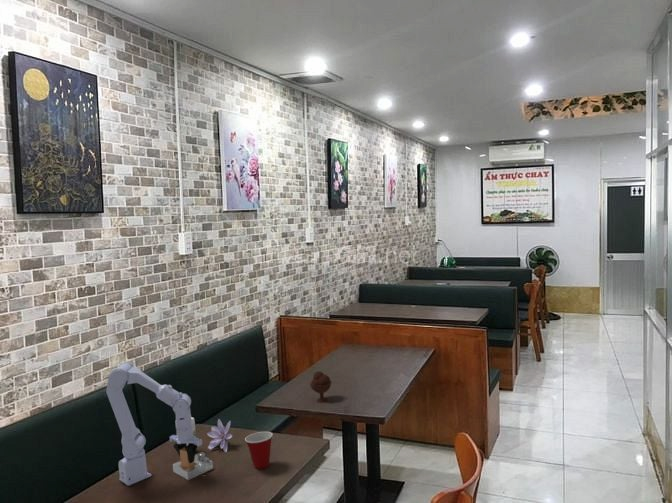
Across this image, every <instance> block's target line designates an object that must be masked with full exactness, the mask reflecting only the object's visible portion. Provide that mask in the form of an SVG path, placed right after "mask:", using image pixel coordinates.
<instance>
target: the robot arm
mask: <svg viewBox="0 0 672 503" xmlns="http://www.w3.org/2000/svg"><path fill="white" fill-rule="evenodd" d="M126 383H127V385H130V384H131V385H132V384H139V385H140V386H142V387H144V388H146V389H148V390H150V391H151V392H153V393H154V394H155V396H156V398H157V399H158V400H160V401H162V402H163V403H165V404H166V405H167V406H170V407H171V408H172V410H173V412H174V414H175V420H176V423H175V427H176V426H177V435H176V434H172V435H170V436H169V442H170V443H171V442H172V443H173V442H175V443H174V444H173V448H174V449H175V450H176V452H177V454H178V456H179V458H180V449H182V448H184V447H185V449H186V451H187V454H188V460H189V463H192V462H193V461H194V458H195V455H196V454H197V453H196V452H197V451H196V449H197V450H198V447H200V446H202V445H203V439H201V438H198V437H197V436H196V437H194V436H193V431H192V420H191V417H192V414H191V404H192V399H191V396H189V395H188V394H187V393H183V392H179V391H177V390H176V389H174V388H173V386H172V385H171V384H160V383H159V382H157V381H156V380H154V379H153V378H152V377H150V376H149V375H147V374H146V373H144V372H143V371H142V370H140V368H139V367H138V366H135V365H133V363H131V362H127V361H125V362H122V363H120V364H119V365H118V366H117V367H115V369H113V370H112V371H111V372H110V374H109V375H108V376H107V385H106V391H105V392H106V395H107V398H108V401H109V403H110V407H111V408H112V411H113V413H114V417H115V419H116V422H117V425H118V428H119V430H120V432H121V446H122V450H121V451H122V454H123V458H122V459H120V460H119V461H118V471H119V481H120V482H122V483H124V484H125V485H127V486H132V485H134V484H136V483H138V482H141V481H144V480H145V479H148V478H150V477H152V473H150V472H148V468H147V459H146V458H147V457H146V450H145V449H144V446H145V445H146V442H147V439H146V437H145V435H143V433H142V432H141V430H140V429H139V428H138V427H136V424H135V421H134V419H133V416H132V413H131V411H130V408H129V406H128V402H127V400H126V398H125V395H124V392H123V389H124V387H125V385H126ZM187 444H189V445H187ZM186 445H187V446H186Z"/></svg>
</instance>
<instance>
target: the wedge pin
mask: <svg viewBox="0 0 672 503" xmlns="http://www.w3.org/2000/svg"><path fill="white" fill-rule="evenodd" d="M179 461H181V467H183V468H185V469H187V468H189V467H192V466H194V461H193V462H192V463H189V460H188V454H187V451H186V449H185V447H184V448H182V449H180V457H179Z"/></svg>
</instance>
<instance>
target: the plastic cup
mask: <svg viewBox="0 0 672 503" xmlns="http://www.w3.org/2000/svg"><path fill="white" fill-rule="evenodd" d="M272 437H274V436H273V432H271V431H259V432H253V433H251V434H249V435H247V436H246V437H245V438H244V441H245V442H246V444H247V447H248V450H249V454H250V456H251V457H250V458H251V460H252V465H253V468H254V469H257V470H264V469H266V468H267V467H269V466H270V458H271V449H272V448H271V446H272Z"/></svg>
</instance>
